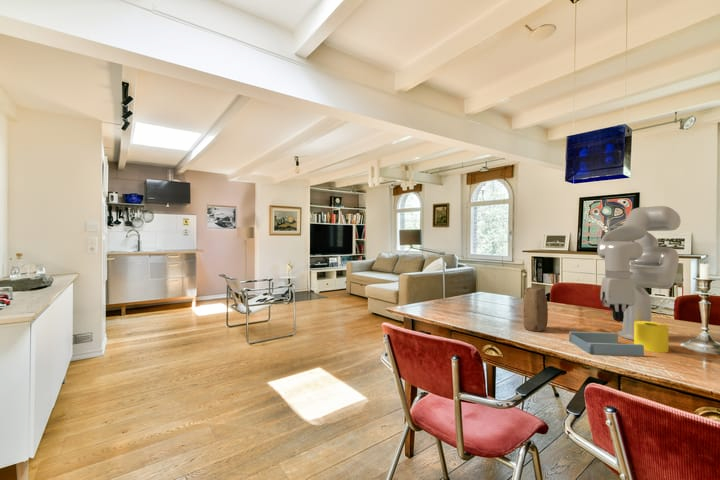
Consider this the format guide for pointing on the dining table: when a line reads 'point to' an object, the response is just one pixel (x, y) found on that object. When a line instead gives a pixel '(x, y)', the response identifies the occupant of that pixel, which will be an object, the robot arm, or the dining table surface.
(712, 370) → the dining table surface
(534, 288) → the block
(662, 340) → the tape roll
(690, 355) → the dining table surface
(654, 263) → the robot arm
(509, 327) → the dining table surface
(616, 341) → the grey shallow tray
